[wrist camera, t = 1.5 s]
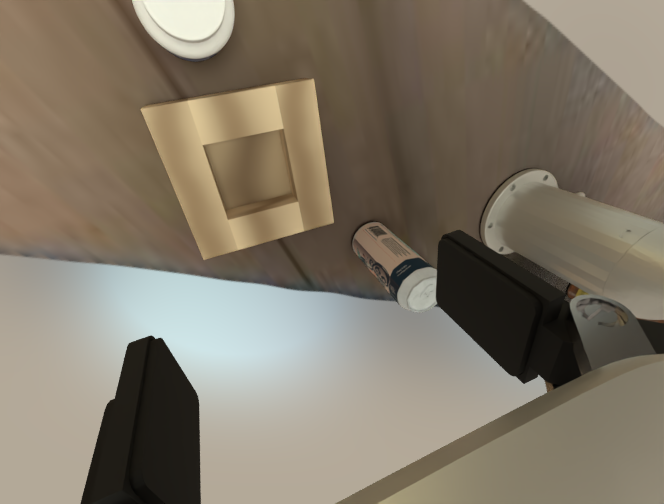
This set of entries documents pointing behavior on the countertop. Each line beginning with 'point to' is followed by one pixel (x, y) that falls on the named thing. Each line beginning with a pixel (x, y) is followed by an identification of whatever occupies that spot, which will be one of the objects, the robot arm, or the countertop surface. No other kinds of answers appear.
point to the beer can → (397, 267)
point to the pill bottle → (188, 25)
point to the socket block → (245, 163)
